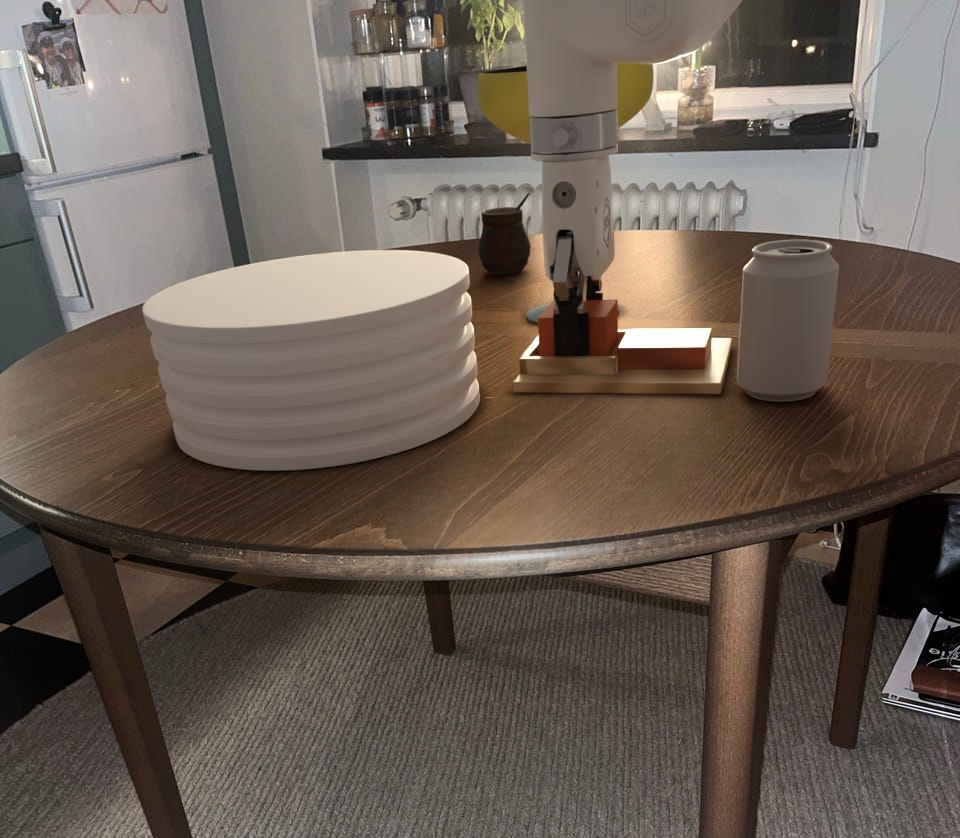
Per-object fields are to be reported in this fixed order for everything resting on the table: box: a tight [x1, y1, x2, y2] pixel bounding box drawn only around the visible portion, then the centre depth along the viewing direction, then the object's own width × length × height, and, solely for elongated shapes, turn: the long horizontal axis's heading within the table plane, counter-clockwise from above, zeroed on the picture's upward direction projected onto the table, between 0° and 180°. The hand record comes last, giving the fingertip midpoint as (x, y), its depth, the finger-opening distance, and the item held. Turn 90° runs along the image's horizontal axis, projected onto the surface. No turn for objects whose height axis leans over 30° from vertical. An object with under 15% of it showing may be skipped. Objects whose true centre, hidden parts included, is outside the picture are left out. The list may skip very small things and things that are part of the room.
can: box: [736, 239, 840, 403], centre depth 81 cm, size 8×8×12 cm
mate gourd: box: [477, 192, 531, 276], centre depth 133 cm, size 7×8×10 cm
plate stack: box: [141, 249, 481, 472], centre depth 87 cm, size 28×28×12 cm
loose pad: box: [537, 299, 619, 356], centre depth 93 cm, size 6×6×4 cm
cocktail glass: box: [477, 62, 655, 325], centre depth 106 cm, size 18×18×25 cm
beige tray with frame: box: [512, 327, 733, 395], centre depth 93 cm, size 19×14×3 cm
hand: (579, 343), depth 93 cm, fingers closed on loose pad, 6 cm apart
